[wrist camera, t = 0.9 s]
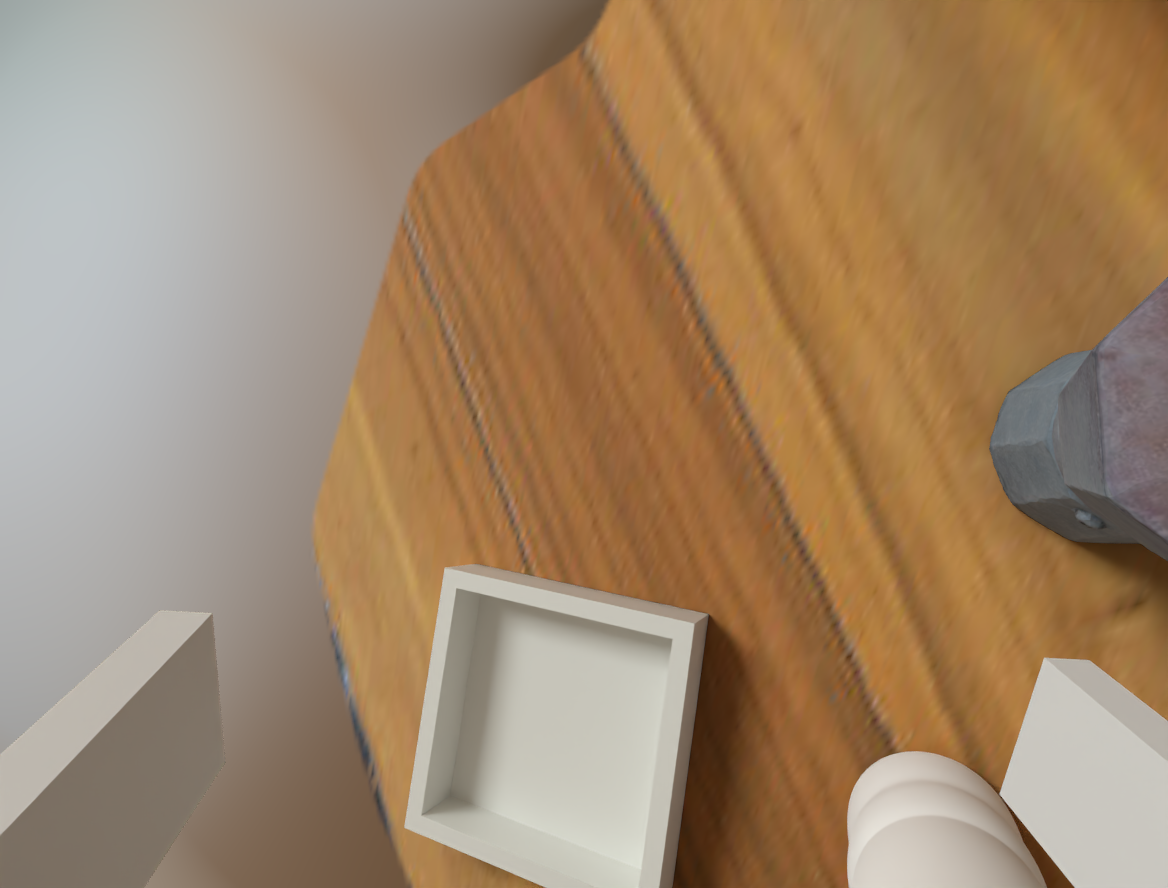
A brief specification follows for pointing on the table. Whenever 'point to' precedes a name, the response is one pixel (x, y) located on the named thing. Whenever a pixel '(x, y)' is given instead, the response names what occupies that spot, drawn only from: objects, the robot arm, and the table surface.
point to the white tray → (557, 729)
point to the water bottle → (933, 829)
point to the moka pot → (1095, 436)
